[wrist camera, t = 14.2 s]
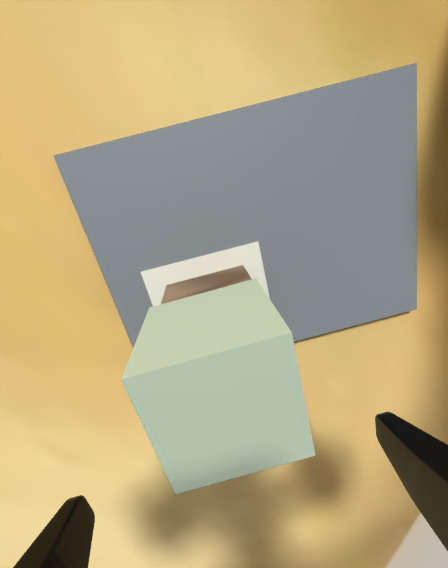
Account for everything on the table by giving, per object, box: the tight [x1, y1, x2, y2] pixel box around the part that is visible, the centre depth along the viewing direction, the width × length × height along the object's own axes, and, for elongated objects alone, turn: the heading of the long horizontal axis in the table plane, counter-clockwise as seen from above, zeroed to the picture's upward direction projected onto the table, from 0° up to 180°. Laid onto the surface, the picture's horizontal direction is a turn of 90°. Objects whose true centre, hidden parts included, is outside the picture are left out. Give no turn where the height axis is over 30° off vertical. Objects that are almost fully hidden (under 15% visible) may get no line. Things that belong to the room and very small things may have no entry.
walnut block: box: [161, 265, 252, 304], centre depth 16 cm, size 5×5×5 cm
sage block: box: [121, 278, 316, 495], centre depth 11 cm, size 5×5×5 cm
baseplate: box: [54, 63, 417, 348], centre depth 18 cm, size 20×15×1 cm
